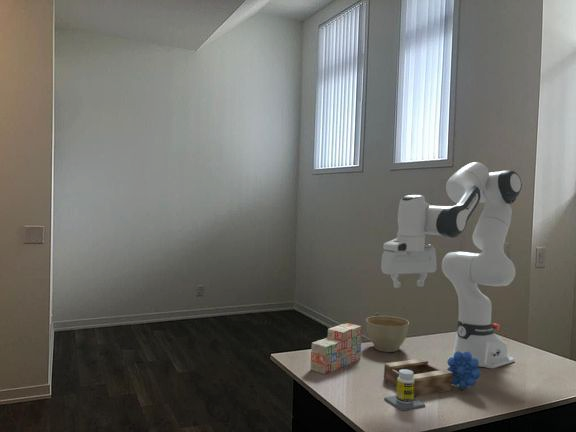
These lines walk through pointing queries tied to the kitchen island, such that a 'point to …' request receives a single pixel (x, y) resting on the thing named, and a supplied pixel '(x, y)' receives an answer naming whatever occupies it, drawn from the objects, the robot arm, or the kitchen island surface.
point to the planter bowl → (387, 332)
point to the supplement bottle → (405, 386)
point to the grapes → (464, 369)
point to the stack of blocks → (337, 348)
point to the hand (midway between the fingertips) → (408, 286)
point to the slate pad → (403, 406)
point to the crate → (420, 376)
